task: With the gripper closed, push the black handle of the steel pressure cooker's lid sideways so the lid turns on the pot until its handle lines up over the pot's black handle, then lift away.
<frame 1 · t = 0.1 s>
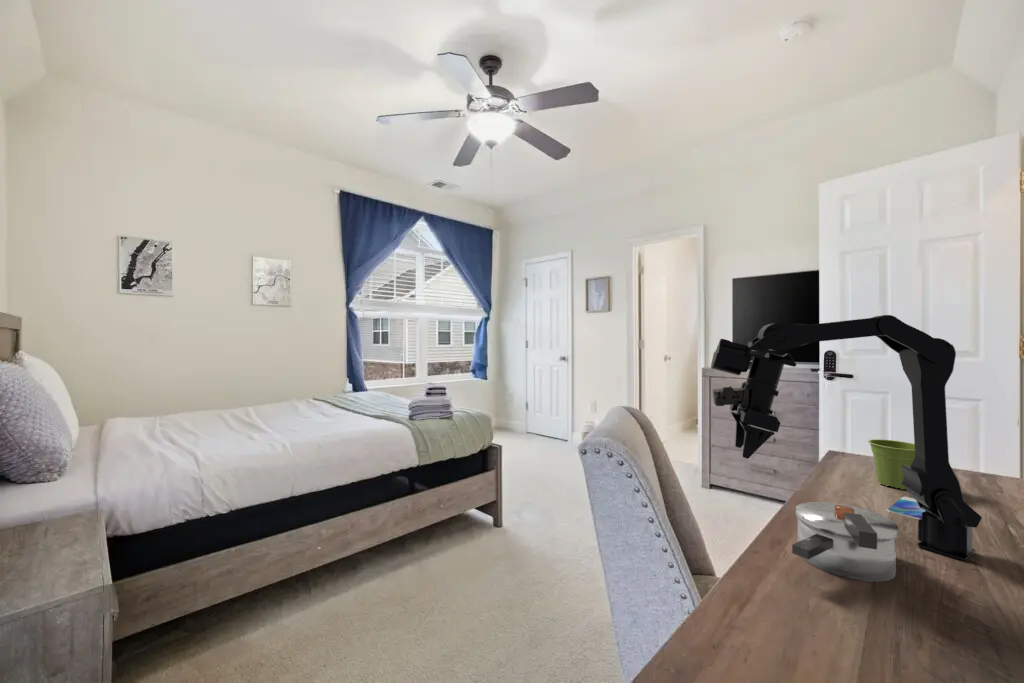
hand: (741, 452, 94), 15 cm above the table, tool pointing down, fingers open, 9 cm apart
pressure cooker pot: (843, 560, 79), on the table
smartphone: (914, 511, 103), on the table
plant pot: (895, 486, 120), on the table
cooker lid: (848, 518, 77), point 8 cm above the table, hinge at 35.0°
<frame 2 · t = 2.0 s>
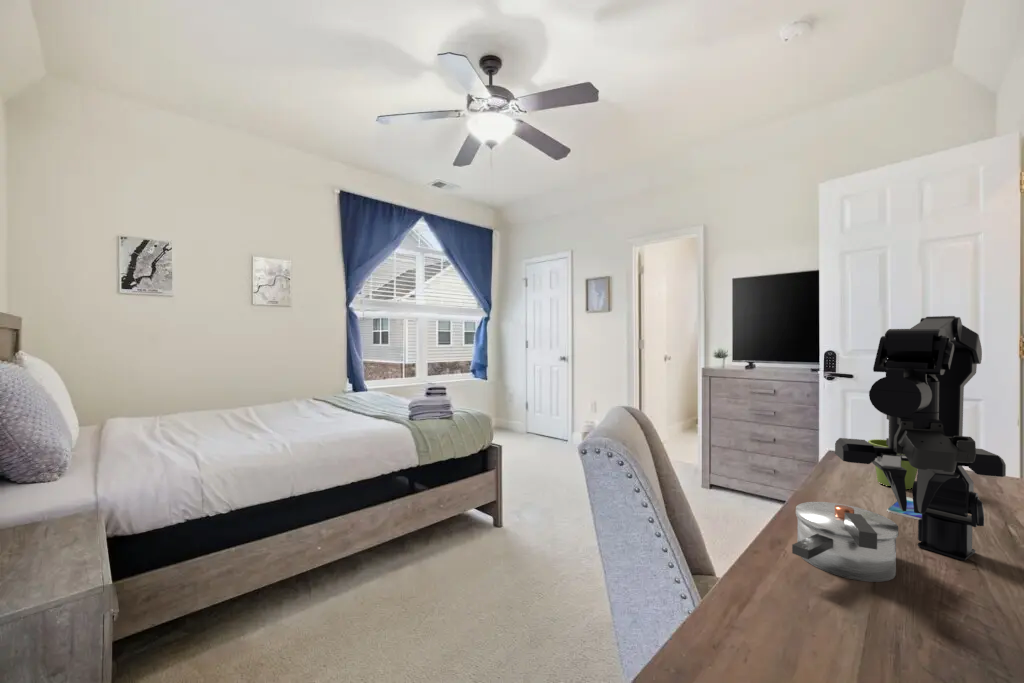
hand: (912, 511, 68), 13 cm above the table, tool pointing down, fingers closed
nothing on the table moved.
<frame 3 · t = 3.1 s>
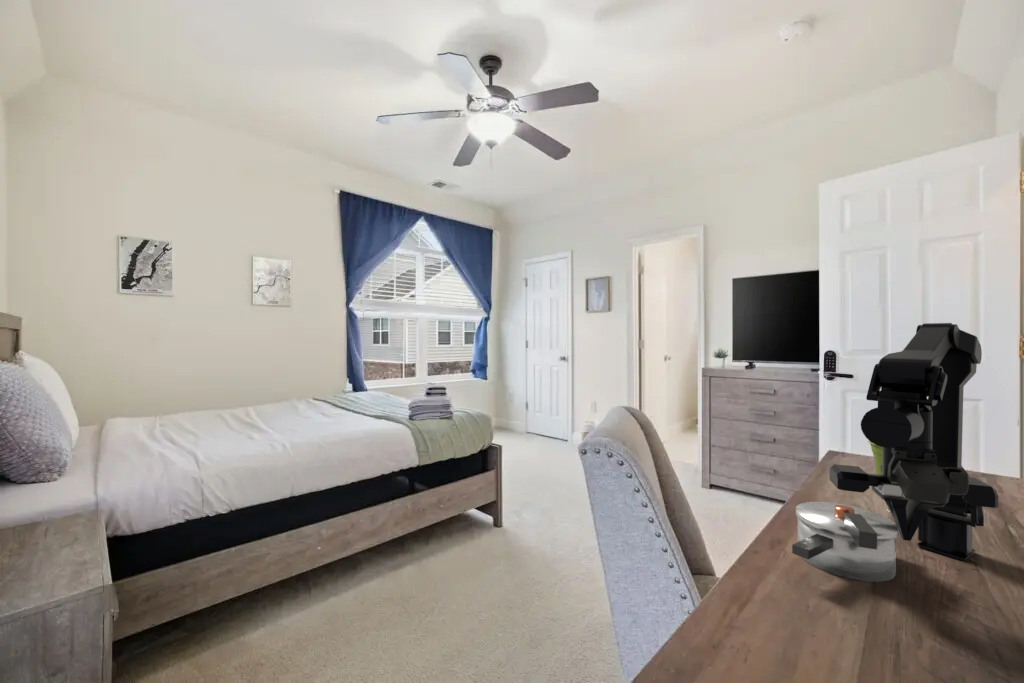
hand: (906, 539, 69), 9 cm above the table, tool pointing down, fingers closed
nothing on the table moved.
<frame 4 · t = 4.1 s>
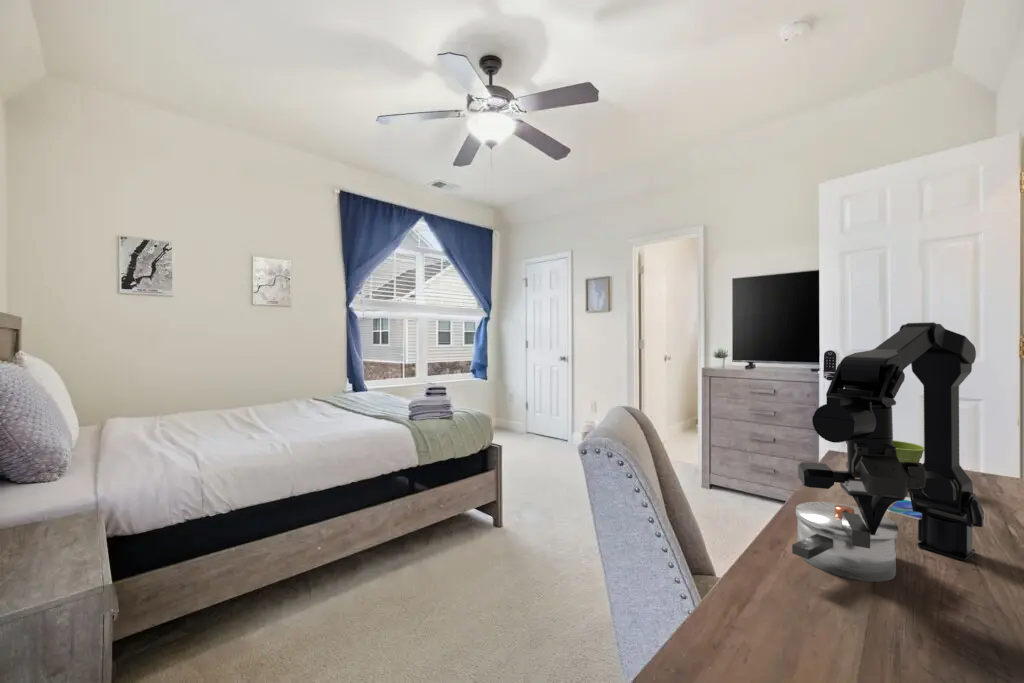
hand: (871, 534, 70), 9 cm above the table, tool pointing down, fingers closed
cooker lid: (847, 518, 77), point 8 cm above the table, hinge at 31.2°, touching gripper
everything else where it was.
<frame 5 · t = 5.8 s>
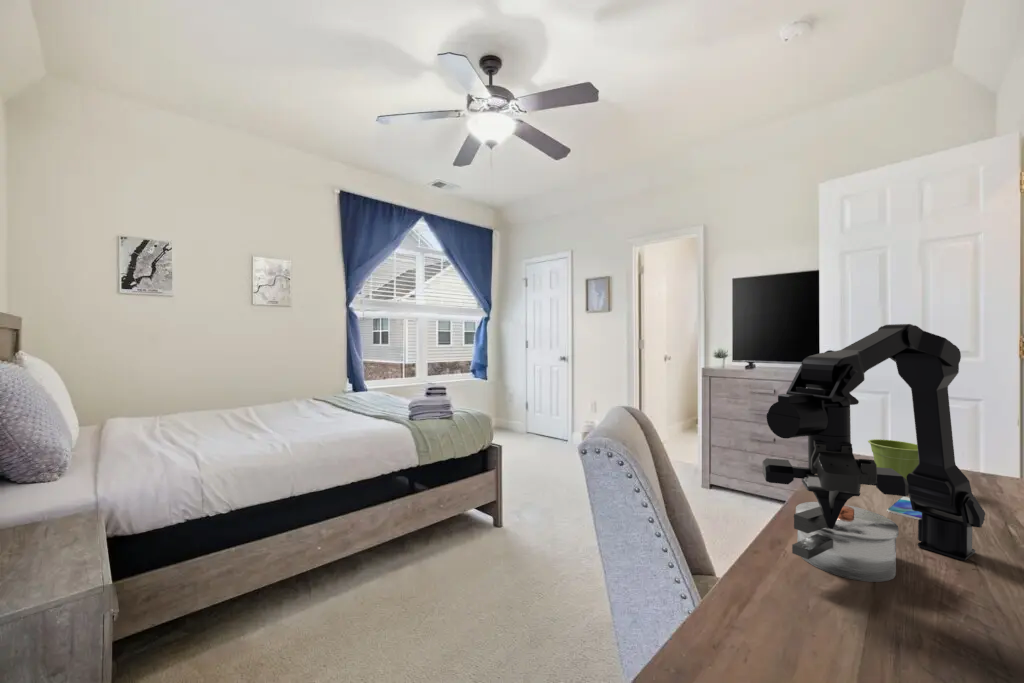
hand: (830, 528, 73), 9 cm above the table, tool pointing down, fingers closed
cooker lid: (835, 515, 78), point 8 cm above the table, hinge at -4.0°, touching gripper
everything else where it was.
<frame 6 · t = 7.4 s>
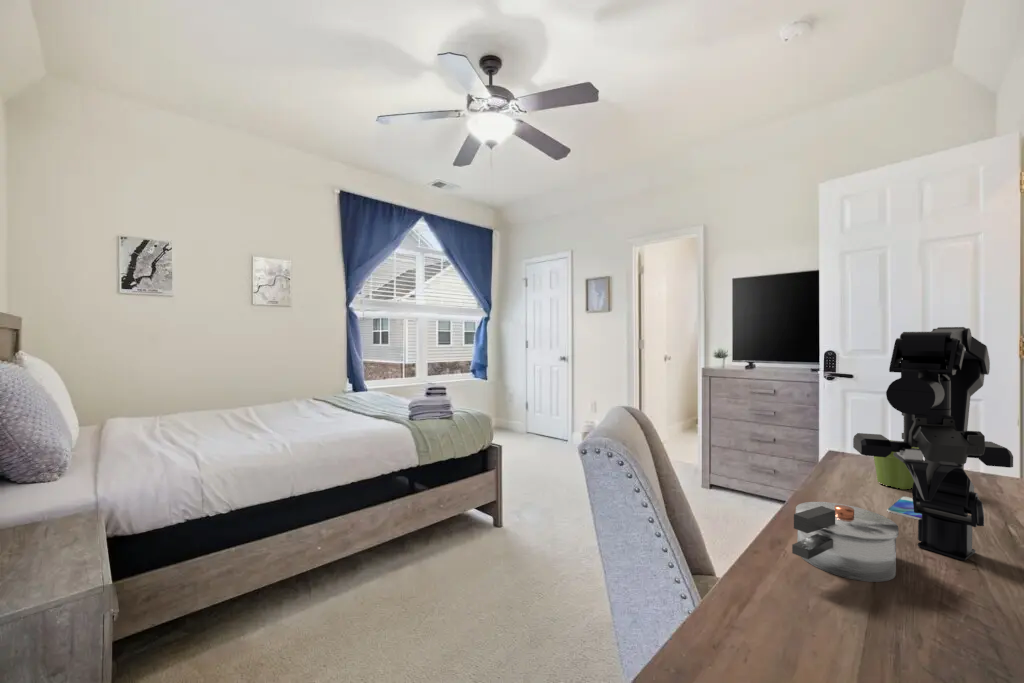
hand: (926, 500, 74), 13 cm above the table, tool pointing down, fingers closed
cooker lid: (835, 515, 78), point 8 cm above the table, hinge at -4.2°
everything else where it was.
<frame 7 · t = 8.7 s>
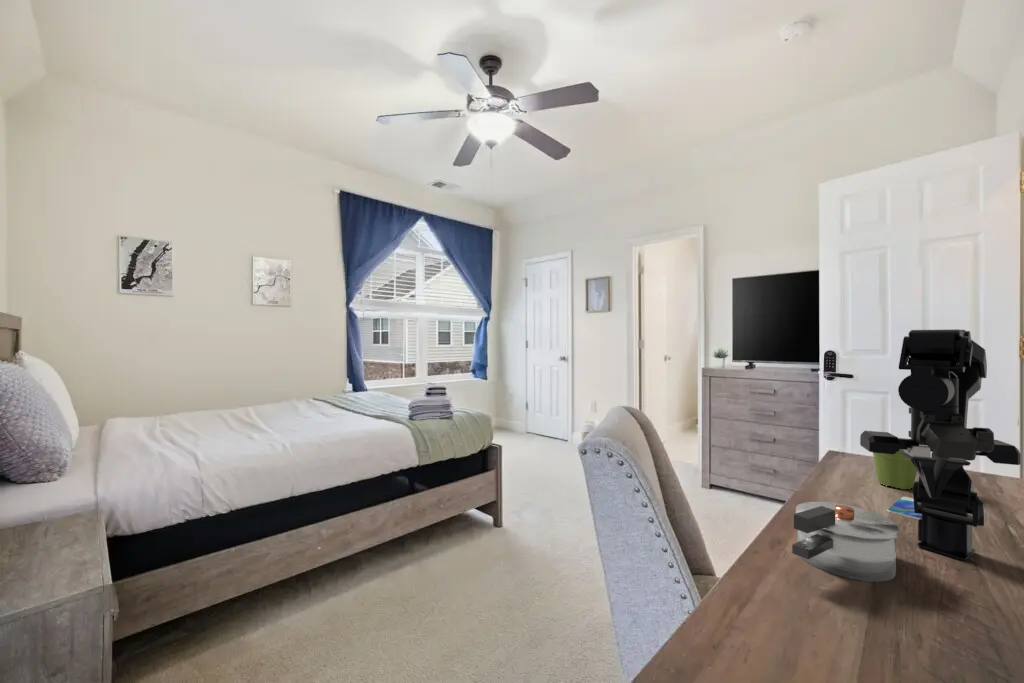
hand: (933, 497, 74), 13 cm above the table, tool pointing down, fingers closed
nothing on the table moved.
at the end: cooker lid at -4° (first picture: +35°) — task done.
